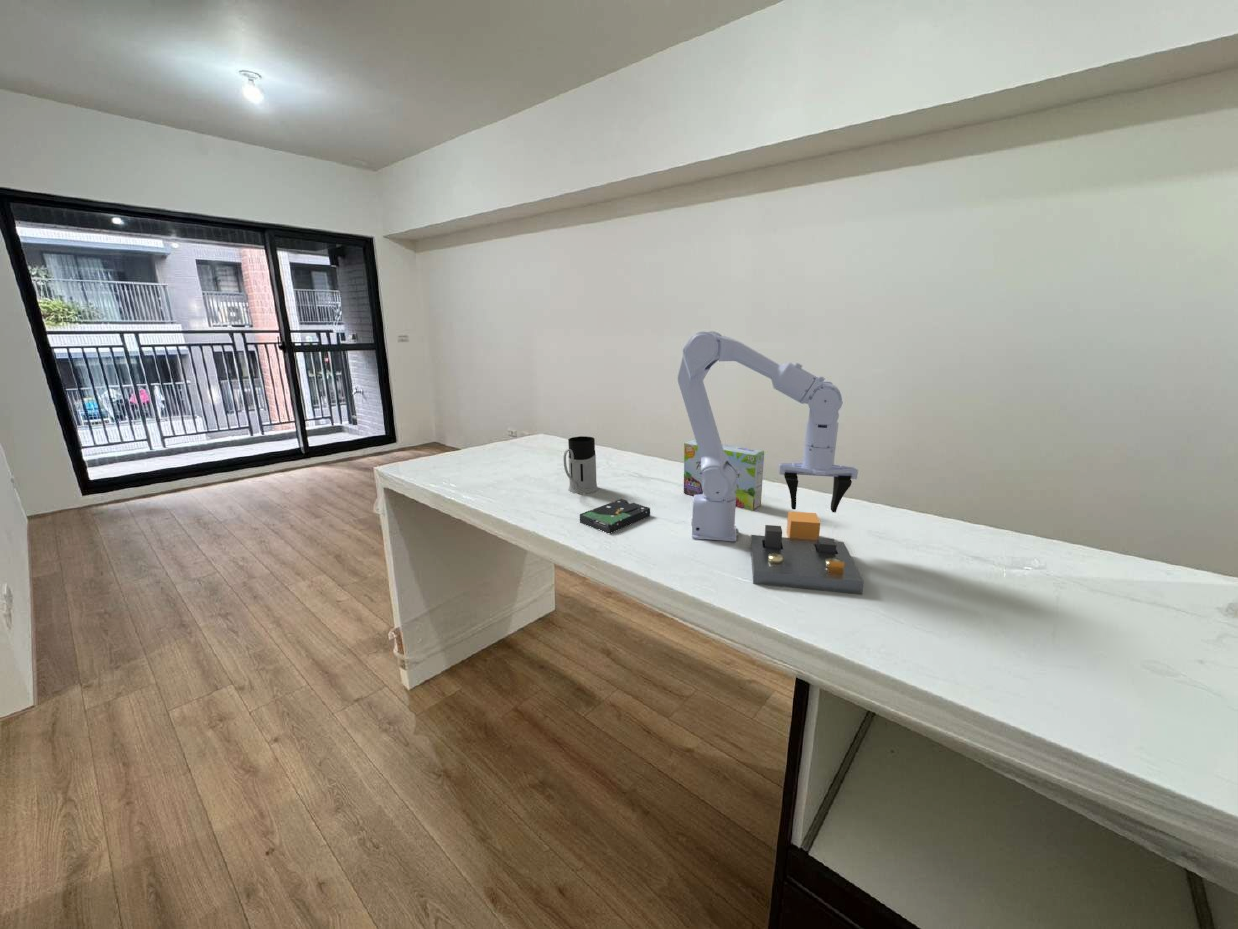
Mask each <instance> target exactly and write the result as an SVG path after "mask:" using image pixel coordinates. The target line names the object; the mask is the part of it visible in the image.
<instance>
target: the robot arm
mask: <svg viewBox="0 0 1238 929" xmlns="http://www.w3.org/2000/svg"><path fill="white" fill-rule="evenodd" d="M718 362H736V363H739V364H740V365H742V366H744V367H746V368H748V369H751V370H752V371H754V372H757V373H758V374H760V375H763V376H765V377H766V378H768V379H770V380H771V383H772V388H773V389H774V390H776V391H777V392H780V393H781V394H783V395H785V396H787V397H789V398H790V399H793V400H794V401H796V402H797V403H800V404H803V405H804V404H805V405H806V404H807V405H808V409H809V412H808V413H809V415H808V419H807V421H806V427H805V437H804V446H803V455H802V462H789V463H787V462H786V463H785V462H779V466H778V473H779V474H778V475H780V476H781V475H783V477H784V479H785V483H786V485H787V487H788V491H789V495H790V496H789V497H790V507H791V510H796V509H797V494H798V493H797V492H798V488H799V487H798V486H799V477H798V476H799V475H800V476H801V475H802V476H817V477H833V484H832V485H833V487H832V496H831V501H830V510H831V513H834V514H836V513H837V510H838V507H839V505H840V503H841V501H842V498H844V495H845V494H846V492H847V491H848V490H849V489H850V487H851V485H852V483H853V481H852V480H857V479H858V473H859V469H858V468H857V467H856V466H847V465H841V464H839V465H838V464H834V463H835V454H836V447H837V438H838V431H839V422H838V421H839V417H840V414H839V411H840V410H841V408H842V405H843V404H844V402H843V398H842V393H841V391H840V389H839V387H838V386H836V385H835V384H833V382H831V381H825V379H826V378H825V377H824V376H821V375H820V376H819V377H818V376H817V375H815V374H813V373H810V372H809V371H807V370H805V369H803V364H801V363H799V362H796V363H795V364H793V363H792V362H786V363H783V364H779V363H778V362H776V361H773V360H772V359H771V358H769V357H767V356H765V355H763V354H762V353H760V352H759V351H756V350H755V349H753V348H752V347H750V346H748V345H746V344H745V343H743V342H741V341H739V340H737V339H734V338H732V337H730V336H726V335H722V334H721V333H719V332H716V331H698V332H696V333H694V334H693V335H692V336H691V337H690V338H689V339H688V341H687V342H686V344H685V345H684V347H683V349H682V358H681V362H680V366H679V370H678V373H677V374H678V375H677V382H678V386H679V389H680V393H681V396H682V399H683V403H684V406H685V410H686V413H687V416H688V419H689V422H690V426H691V429H692V432H693V436H694V440H696V443H697V446H698V449H699V453H700V456H701V472H702V477H703V479H702V491H703V494H699V495H694V496H693V500H692V518H691V538H692V539H698V540H699V539H702V540H710V541H711V540H712V541H714V540H715V541H726V542H736V541H737V526H736V525H735V524H736V508H737V507H736V493H735V492H734V490H733V488H732V487H733V485H734V484H735V483H736V481H737V477H738V475H737V471H736V469H735V467H734V466H733V465H732V464H731V463H730V461H729V459H728V456H727V454H726V453H725V451H724V450H723V447H722V444H723V443H722V441H721V436H720V434H719V430H718V427H717V424H716V420H715V417H714V413H713V409H712V407H711V403H710V400H709V397H708V396H709V395H708V394H707V390H706V386H705V384H704V383H705V382H704V379H705V378H706V376H707V375H708V373H709V371H710V370H711V368H712V367H713V366H714V365H715V364H716V363H718Z"/></svg>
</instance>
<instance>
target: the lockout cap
mask: <svg viewBox="0 0 1238 929" xmlns="http://www.w3.org/2000/svg"><path fill="white" fill-rule="evenodd" d="M786 520H787V522H786V535H787V538H798V539H811V540H817V538H820V530H821V521H820V519H819V517H818V514H817V513H816V512H806V511H805V512H804V511H791V510H790V511H789V510H788V511H787V519H786Z"/></svg>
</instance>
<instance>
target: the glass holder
mask: <svg viewBox="0 0 1238 929" xmlns="http://www.w3.org/2000/svg"><path fill="white" fill-rule="evenodd" d="M567 455H568V458H567ZM596 455H597V454H596V443H595V438H594V437H593V436H581V435H580V436H574V437H569V438H568V448H567V449H566V450H565V451H564V454H563V467H564V470H565V474H566V476H567V477H568V479H569V487H568V492H569V491H570V493H571V492H572V494H575V493H582V494H581V495H584V494H583V493H588V494H592V493H594V492H597V491H598V490H599V487H598V484H597V457H596ZM567 459H568V466H567Z"/></svg>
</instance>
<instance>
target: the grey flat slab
mask: <svg viewBox="0 0 1238 929" xmlns="http://www.w3.org/2000/svg"><path fill="white" fill-rule="evenodd" d="M764 537H765V535H759V534H757V535H756V534H751V535H750V556H751V571H752V572H751V573H752V584H756V585H763V586H774V587H783V586H785V587H784V588H795V589H803V590H804V589H805V590H813V591H814V590H815V591H822V592H824V591H826V592H831V593H832V592H834V593H842V594H843V593H845V594H855V595H863V590H864V589H863V588H864V582H865V581H864V579H863V577H862V575H861V574H860V571H859V569H858V567H857V566H856V563H855V561H854V560H853V558H852V555H851V554H850V551H849V550H848V548H847V546H846V544H845V542H844V541H836V540H834V541H835V543H836V545H837V546H836V554H832V553H820V552H817V551H816V545H817V540H811V539H798V538H788V537H783V536H782V542H781V549H772V548H765V546H764Z"/></svg>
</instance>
